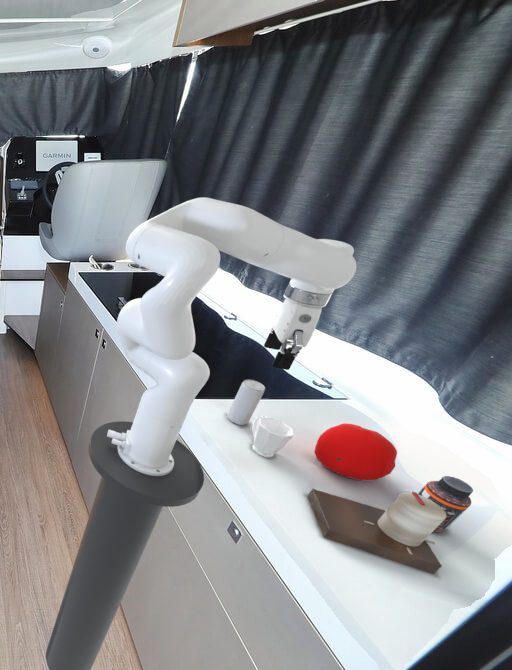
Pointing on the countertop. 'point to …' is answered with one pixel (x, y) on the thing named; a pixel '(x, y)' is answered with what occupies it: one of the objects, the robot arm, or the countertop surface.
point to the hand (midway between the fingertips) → (275, 357)
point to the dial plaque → (366, 531)
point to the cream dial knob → (411, 518)
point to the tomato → (356, 452)
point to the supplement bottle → (448, 498)
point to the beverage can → (245, 402)
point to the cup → (270, 435)
